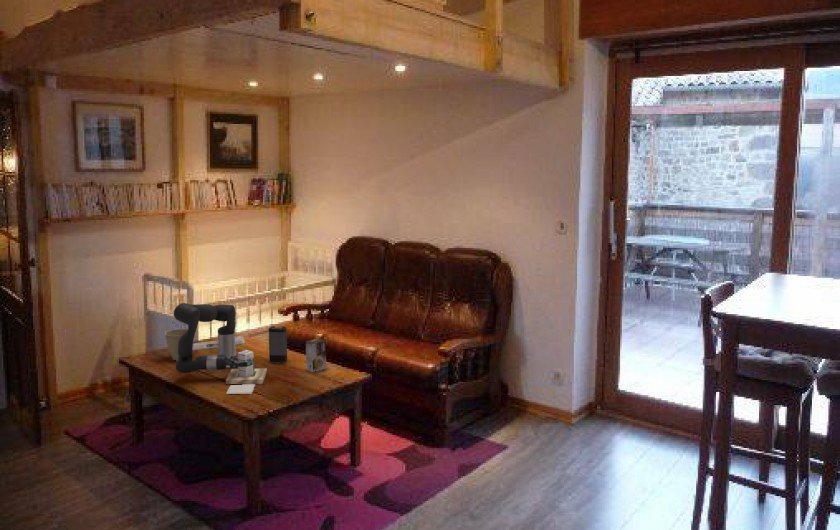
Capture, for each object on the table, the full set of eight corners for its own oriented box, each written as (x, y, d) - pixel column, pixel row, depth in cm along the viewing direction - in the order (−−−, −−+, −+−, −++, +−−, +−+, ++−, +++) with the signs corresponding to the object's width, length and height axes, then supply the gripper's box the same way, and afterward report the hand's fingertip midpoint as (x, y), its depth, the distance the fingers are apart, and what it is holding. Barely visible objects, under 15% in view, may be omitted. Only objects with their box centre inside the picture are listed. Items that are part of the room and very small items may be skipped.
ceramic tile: (226, 395, 322) (226, 393, 322) (230, 386, 334) (230, 384, 333) (251, 394, 323) (251, 392, 323) (255, 386, 335) (255, 384, 335)
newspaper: (187, 352, 393) (187, 346, 392) (183, 347, 404) (183, 341, 403) (247, 345, 410) (246, 339, 410) (241, 340, 421) (241, 334, 420)
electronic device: (287, 360, 377) (287, 326, 374) (284, 363, 371) (284, 329, 368) (272, 360, 378) (271, 325, 375) (268, 363, 372) (267, 328, 369)
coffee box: (319, 366, 367) (319, 338, 365) (326, 369, 363) (326, 340, 360) (305, 369, 361) (305, 341, 359) (312, 372, 357) (312, 343, 354)
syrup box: (246, 381, 342) (245, 354, 340) (238, 379, 345) (237, 352, 343) (255, 378, 347) (254, 351, 344) (246, 376, 350) (246, 349, 348)
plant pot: (161, 362, 372) (159, 335, 369) (174, 355, 386) (172, 328, 384) (186, 363, 370) (185, 336, 367) (198, 356, 385) (197, 329, 382)
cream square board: (225, 384, 336) (225, 380, 336) (232, 373, 354) (232, 369, 354) (262, 384, 338) (261, 379, 338) (266, 372, 356) (266, 368, 355)
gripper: (213, 359, 335) (246, 359, 337) (219, 351, 349) (250, 351, 351) (214, 373, 337) (246, 373, 338) (219, 365, 351) (251, 364, 352)
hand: (248, 361), depth 345 cm, fingers open, 8 cm apart
